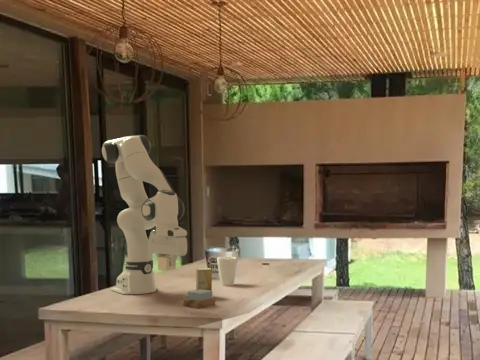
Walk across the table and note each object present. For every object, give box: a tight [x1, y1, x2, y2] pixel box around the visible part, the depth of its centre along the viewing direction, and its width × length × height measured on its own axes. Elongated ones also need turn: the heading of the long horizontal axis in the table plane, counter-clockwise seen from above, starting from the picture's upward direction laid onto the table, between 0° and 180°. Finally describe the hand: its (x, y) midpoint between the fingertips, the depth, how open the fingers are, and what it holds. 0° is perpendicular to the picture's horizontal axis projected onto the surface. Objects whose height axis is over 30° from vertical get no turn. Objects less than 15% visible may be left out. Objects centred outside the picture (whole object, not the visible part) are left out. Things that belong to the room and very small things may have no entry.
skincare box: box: [195, 267, 213, 292], centre depth 243 cm, size 6×4×12 cm
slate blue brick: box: [187, 289, 213, 301], centre depth 226 cm, size 7×7×3 cm
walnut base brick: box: [182, 297, 216, 309], centre depth 226 cm, size 9×9×3 cm
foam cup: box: [216, 256, 238, 287], centre depth 272 cm, size 10×9×13 cm
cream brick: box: [157, 255, 177, 272], centre depth 225 cm, size 5×5×5 cm
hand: (166, 265), depth 225 cm, fingers closed on cream brick, 5 cm apart
